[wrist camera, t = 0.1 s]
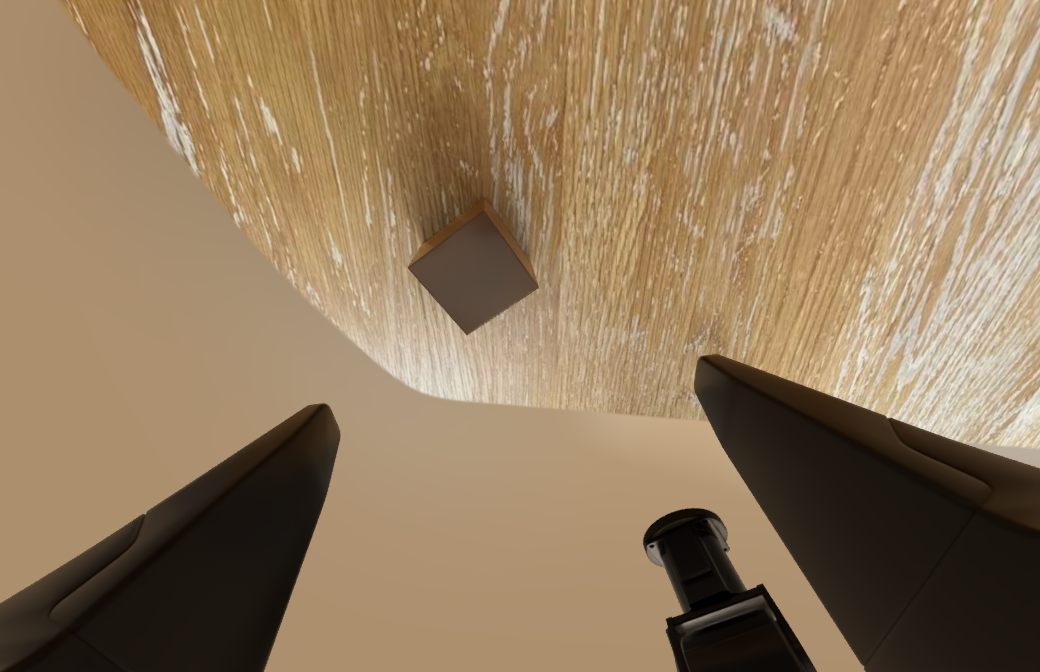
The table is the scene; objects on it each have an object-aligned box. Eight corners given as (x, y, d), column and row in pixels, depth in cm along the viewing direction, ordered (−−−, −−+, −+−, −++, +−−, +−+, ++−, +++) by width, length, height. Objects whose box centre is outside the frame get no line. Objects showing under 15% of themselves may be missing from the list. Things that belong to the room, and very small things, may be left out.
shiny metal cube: (530, 261, 22) (539, 287, 18) (470, 302, 23) (467, 336, 19) (485, 196, 21) (484, 210, 17) (422, 243, 22) (406, 267, 18)
